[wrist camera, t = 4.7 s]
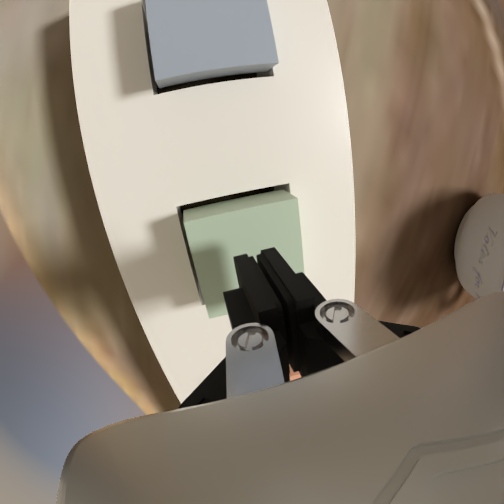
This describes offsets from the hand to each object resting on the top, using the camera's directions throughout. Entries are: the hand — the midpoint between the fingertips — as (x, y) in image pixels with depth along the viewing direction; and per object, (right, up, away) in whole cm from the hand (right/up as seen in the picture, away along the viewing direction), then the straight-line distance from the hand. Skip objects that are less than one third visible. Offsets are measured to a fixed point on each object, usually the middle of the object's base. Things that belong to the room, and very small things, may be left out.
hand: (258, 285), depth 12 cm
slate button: (-2, +12, -1) cm, 12 cm away
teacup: (+23, +2, +12) cm, 26 cm away
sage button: (-1, +2, +3) cm, 4 cm away
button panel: (-1, +3, +6) cm, 7 cm away
